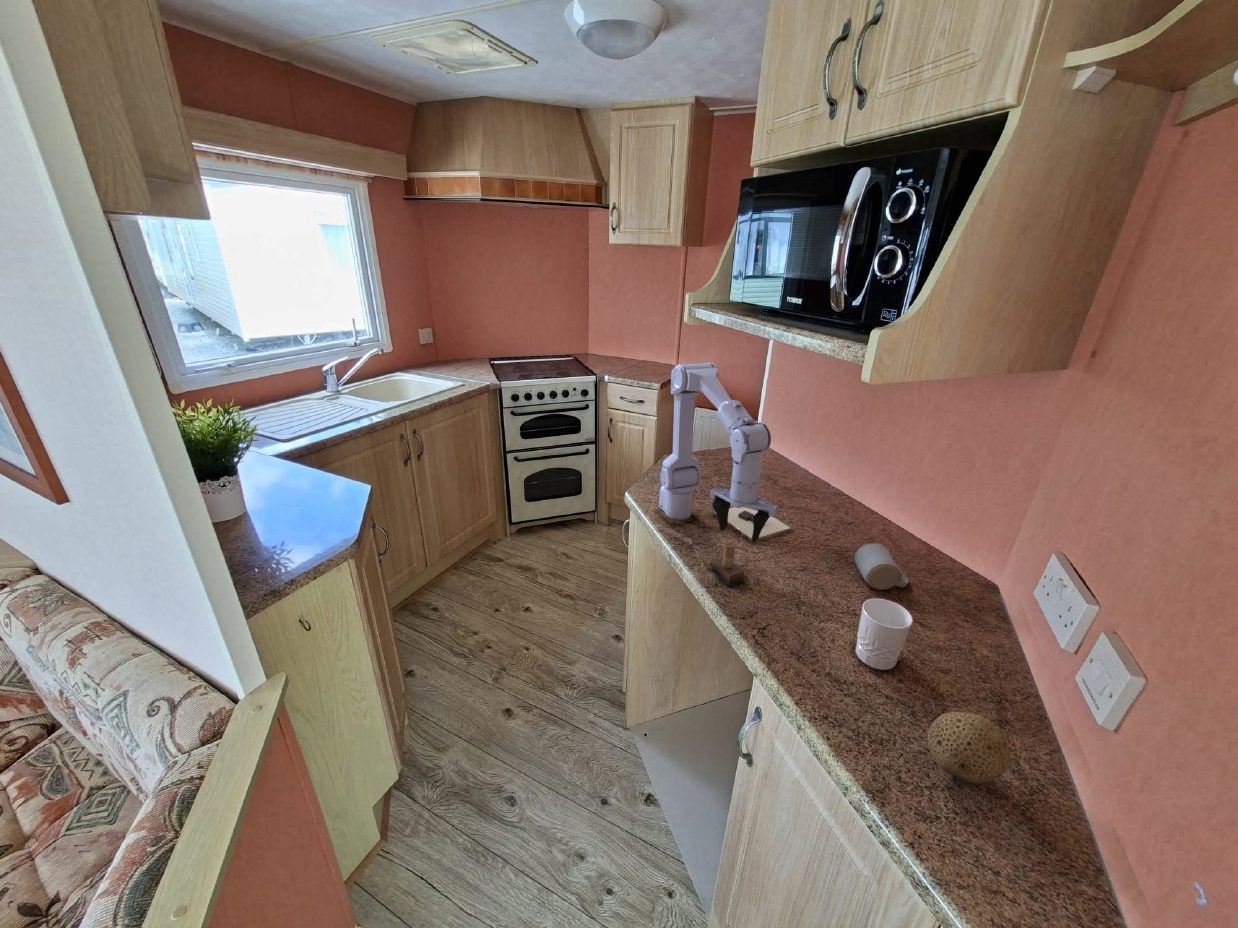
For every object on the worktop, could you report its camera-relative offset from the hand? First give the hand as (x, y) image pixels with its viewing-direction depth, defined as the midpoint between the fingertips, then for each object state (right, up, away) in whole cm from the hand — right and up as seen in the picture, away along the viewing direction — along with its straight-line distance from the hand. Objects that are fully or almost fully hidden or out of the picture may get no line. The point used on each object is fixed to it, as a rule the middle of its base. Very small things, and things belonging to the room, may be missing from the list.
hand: (738, 534), depth 109 cm
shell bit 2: (+11, 0, +23) cm, 26 cm away
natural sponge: (+21, -28, -40) cm, 53 cm away
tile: (+9, -1, +25) cm, 27 cm away
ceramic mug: (+32, -11, +2) cm, 34 cm away
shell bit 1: (+8, +1, +26) cm, 27 cm away
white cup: (+20, -20, -19) cm, 34 cm away
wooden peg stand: (-2, -10, +3) cm, 11 cm away
